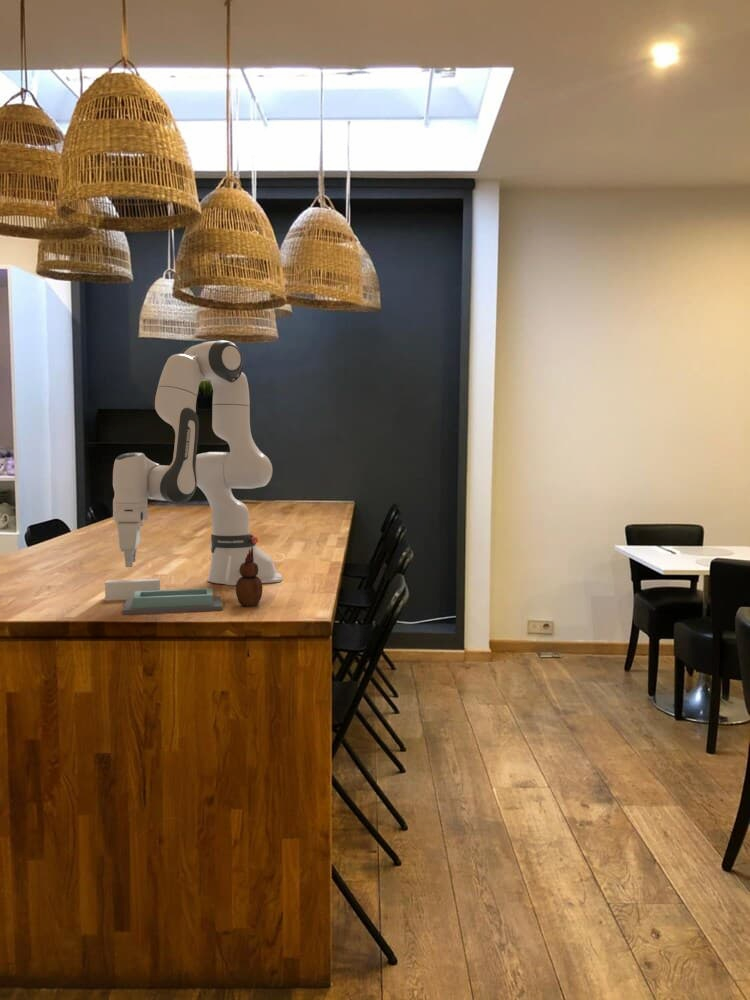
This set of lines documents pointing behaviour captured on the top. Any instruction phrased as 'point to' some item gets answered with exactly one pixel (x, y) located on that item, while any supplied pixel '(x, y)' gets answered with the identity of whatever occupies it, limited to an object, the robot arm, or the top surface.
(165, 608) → the cradle jig
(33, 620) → the top surface
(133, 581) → the long cream plank
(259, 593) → the wooden figurine
